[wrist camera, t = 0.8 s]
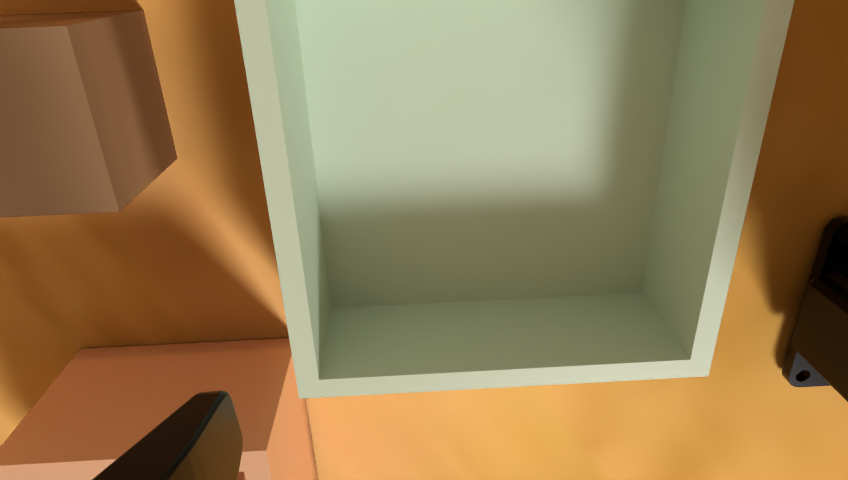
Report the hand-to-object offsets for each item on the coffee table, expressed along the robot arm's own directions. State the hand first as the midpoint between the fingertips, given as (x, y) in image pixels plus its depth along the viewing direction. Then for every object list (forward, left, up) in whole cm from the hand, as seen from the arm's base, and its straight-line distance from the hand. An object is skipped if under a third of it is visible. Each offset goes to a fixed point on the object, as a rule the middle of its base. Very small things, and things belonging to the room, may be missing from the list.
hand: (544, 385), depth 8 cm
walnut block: (+10, -3, -10) cm, 15 cm away
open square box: (+9, +9, -10) cm, 17 cm away
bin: (-1, -1, -10) cm, 10 cm away
